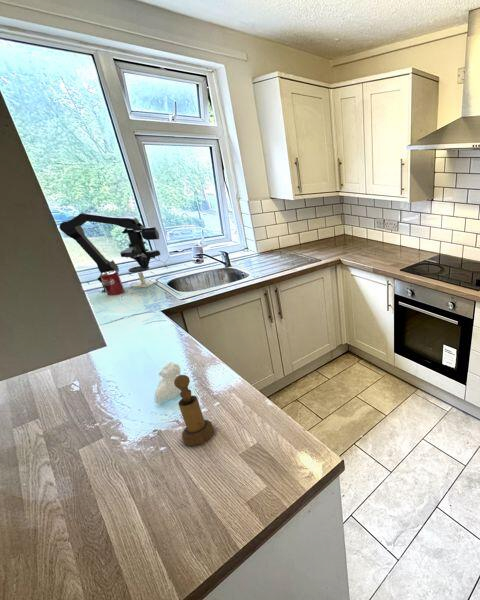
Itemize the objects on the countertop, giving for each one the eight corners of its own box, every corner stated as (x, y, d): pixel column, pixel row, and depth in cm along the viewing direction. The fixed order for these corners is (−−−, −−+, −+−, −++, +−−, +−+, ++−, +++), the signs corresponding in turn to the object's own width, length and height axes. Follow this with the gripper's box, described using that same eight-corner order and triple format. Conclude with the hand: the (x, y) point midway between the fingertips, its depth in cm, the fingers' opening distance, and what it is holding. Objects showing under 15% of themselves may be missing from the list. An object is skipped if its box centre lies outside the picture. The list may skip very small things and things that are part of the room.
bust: (167, 414, 93) (185, 384, 91) (138, 404, 90) (156, 373, 88) (183, 388, 104) (200, 361, 102) (157, 378, 101) (174, 351, 99)
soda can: (115, 297, 170) (107, 275, 166) (104, 296, 172) (95, 274, 167) (128, 292, 177) (121, 271, 172) (117, 291, 178) (110, 270, 174)
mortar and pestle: (192, 427, 85) (173, 369, 78) (218, 425, 86) (201, 367, 79) (178, 447, 79) (157, 386, 72) (206, 445, 80) (187, 384, 73)
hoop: (124, 272, 179) (123, 270, 179) (138, 268, 188) (137, 265, 187) (140, 272, 179) (139, 270, 178) (153, 268, 187) (152, 265, 187)
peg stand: (130, 288, 183) (126, 275, 180) (143, 282, 191) (139, 270, 188) (145, 288, 182) (141, 275, 179) (157, 283, 191) (153, 270, 188)
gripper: (107, 243, 170) (116, 272, 176) (140, 244, 169) (149, 273, 175) (125, 239, 180) (133, 266, 186) (157, 239, 179) (165, 267, 185)
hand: (145, 268), depth 183 cm, fingers closed on hoop, 1 cm apart
